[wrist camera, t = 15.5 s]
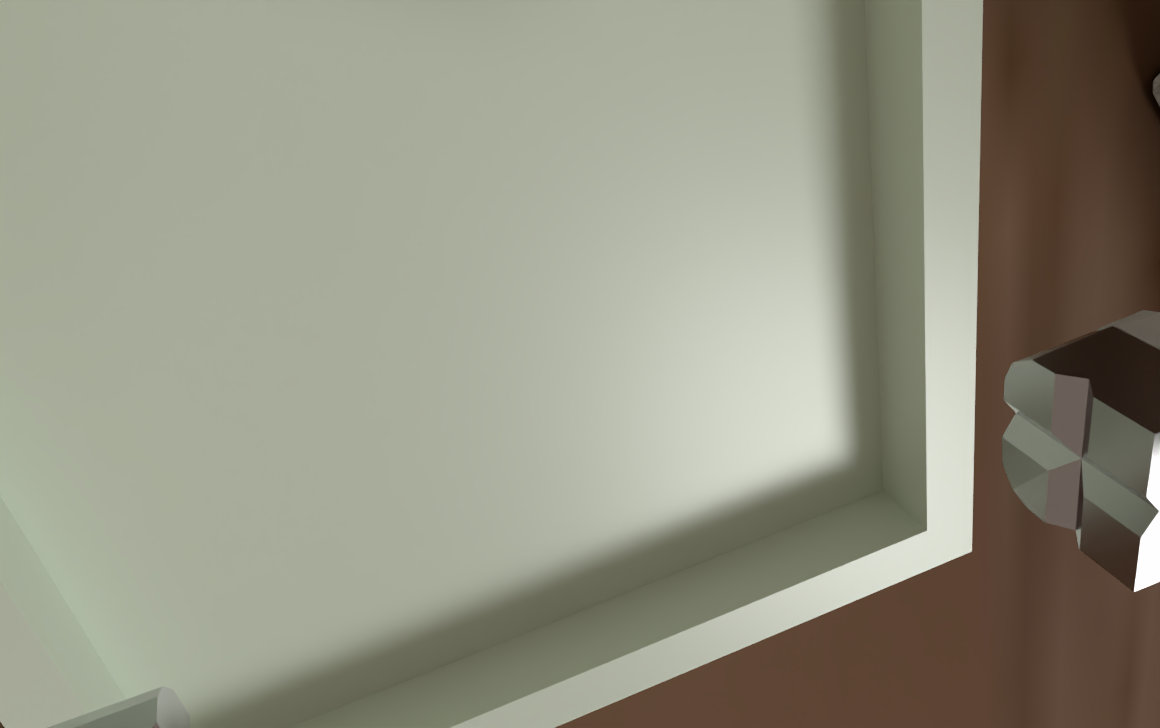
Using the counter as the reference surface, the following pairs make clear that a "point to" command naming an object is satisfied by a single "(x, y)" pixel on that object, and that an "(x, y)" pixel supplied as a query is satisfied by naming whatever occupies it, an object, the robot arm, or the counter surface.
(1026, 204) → the counter surface
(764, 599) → the sage tray
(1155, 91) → the skincare box
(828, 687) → the counter surface
